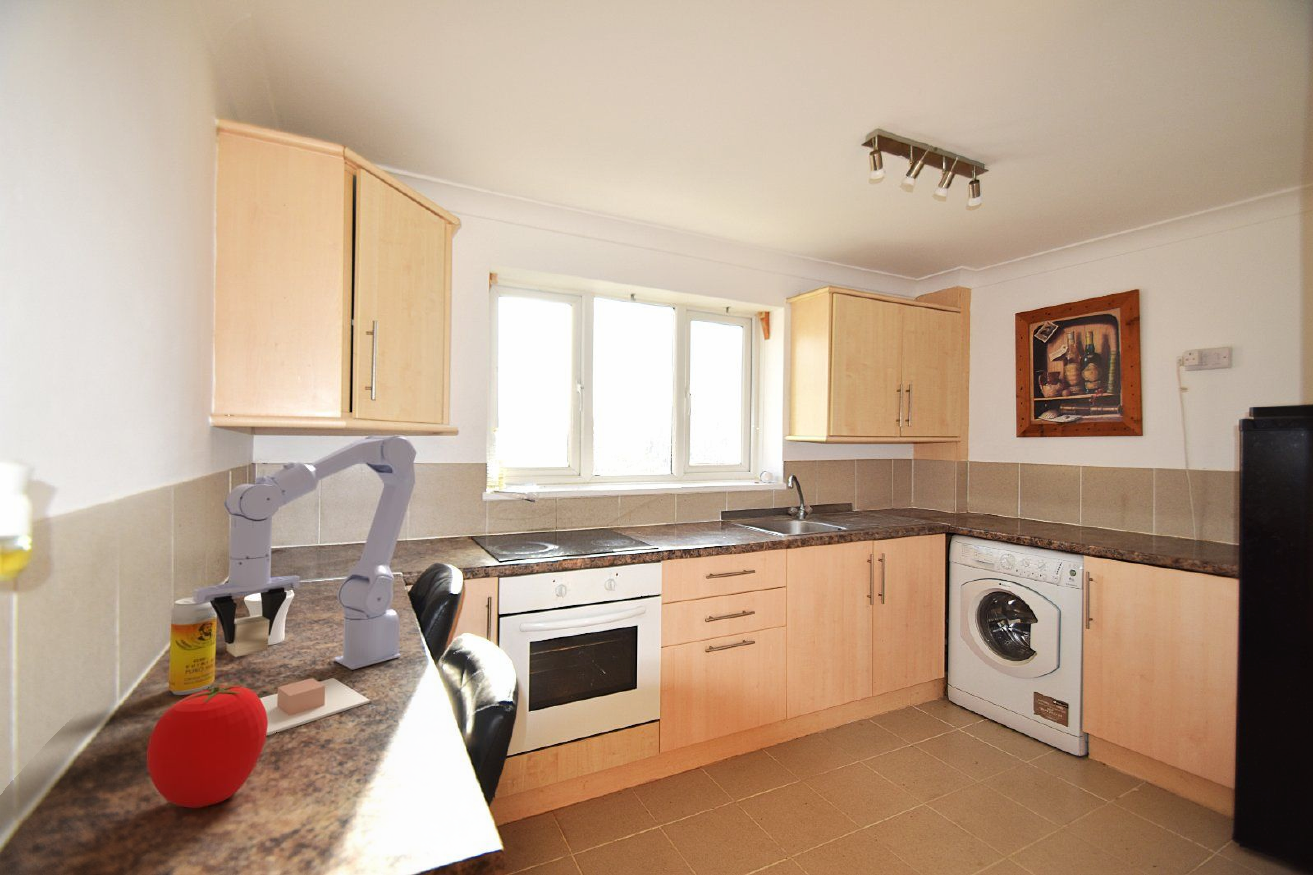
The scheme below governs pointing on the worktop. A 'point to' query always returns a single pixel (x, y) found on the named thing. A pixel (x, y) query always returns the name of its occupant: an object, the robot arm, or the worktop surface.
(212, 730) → the tomato
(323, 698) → the terracotta block
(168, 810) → the worktop surface
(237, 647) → the maple block
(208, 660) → the beer can
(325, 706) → the build mat
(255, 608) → the cup
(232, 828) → the worktop surface
